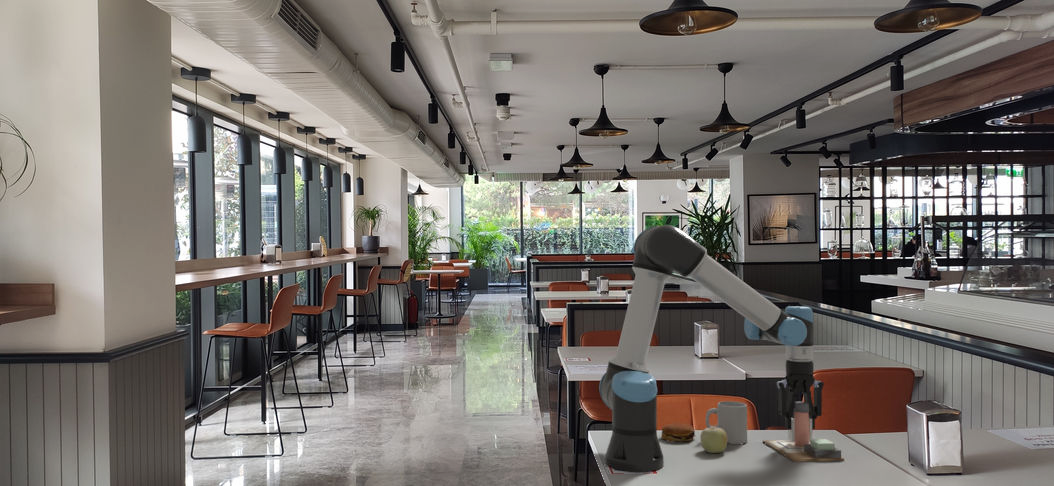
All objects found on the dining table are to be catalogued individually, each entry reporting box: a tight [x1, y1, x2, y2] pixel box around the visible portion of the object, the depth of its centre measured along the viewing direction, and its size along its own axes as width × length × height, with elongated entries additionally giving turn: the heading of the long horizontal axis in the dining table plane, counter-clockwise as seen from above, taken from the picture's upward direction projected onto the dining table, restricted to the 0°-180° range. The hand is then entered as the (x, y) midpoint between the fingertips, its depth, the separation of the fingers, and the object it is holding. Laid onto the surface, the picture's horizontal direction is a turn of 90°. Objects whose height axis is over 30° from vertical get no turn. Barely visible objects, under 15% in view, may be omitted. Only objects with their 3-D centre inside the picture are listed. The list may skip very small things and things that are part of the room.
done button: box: [810, 438, 836, 450], centre depth 193 cm, size 5×5×2 cm
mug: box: [705, 400, 748, 445], centre depth 211 cm, size 12×8×11 cm
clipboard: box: [762, 439, 845, 463], centre depth 199 cm, size 14×20×3 cm
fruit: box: [700, 423, 728, 454], centre depth 198 cm, size 8×7×8 cm
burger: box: [661, 422, 696, 442], centre depth 212 cm, size 10×9×5 cm
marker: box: [793, 401, 810, 447], centre depth 203 cm, size 4×4×12 cm
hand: (800, 440), depth 204 cm, fingers open, 4 cm apart
